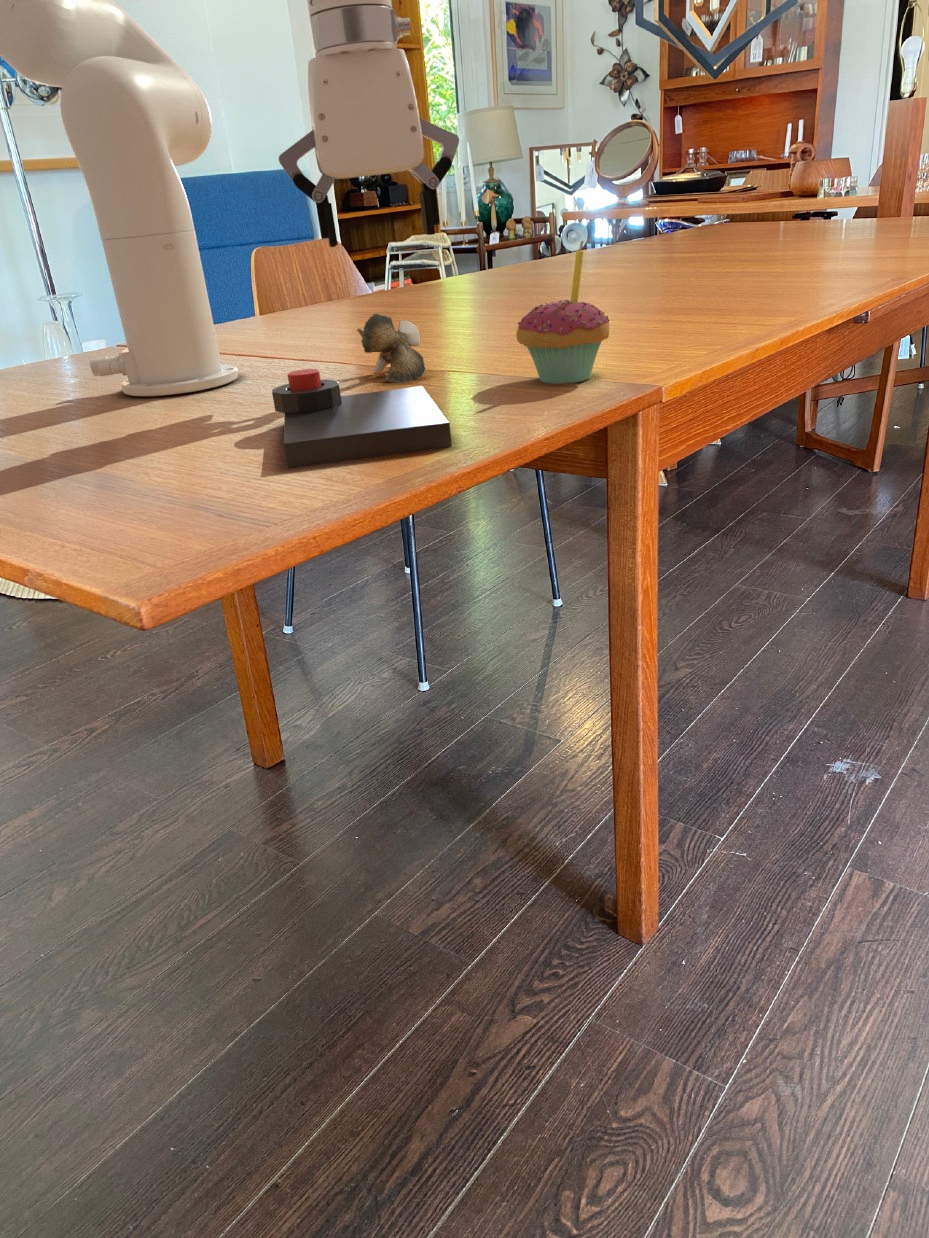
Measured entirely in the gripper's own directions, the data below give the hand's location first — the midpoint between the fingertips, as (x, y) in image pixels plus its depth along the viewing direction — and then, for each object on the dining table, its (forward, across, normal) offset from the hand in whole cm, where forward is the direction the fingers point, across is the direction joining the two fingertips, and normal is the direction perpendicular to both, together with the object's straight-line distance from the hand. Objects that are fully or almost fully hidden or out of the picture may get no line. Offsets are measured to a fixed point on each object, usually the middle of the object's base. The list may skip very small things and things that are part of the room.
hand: (381, 240), depth 90 cm
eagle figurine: (+13, +1, 0) cm, 13 cm away
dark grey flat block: (+13, +6, +25) cm, 29 cm away
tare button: (+10, +10, +20) cm, 24 cm away
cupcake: (+14, -14, +13) cm, 24 cm away
